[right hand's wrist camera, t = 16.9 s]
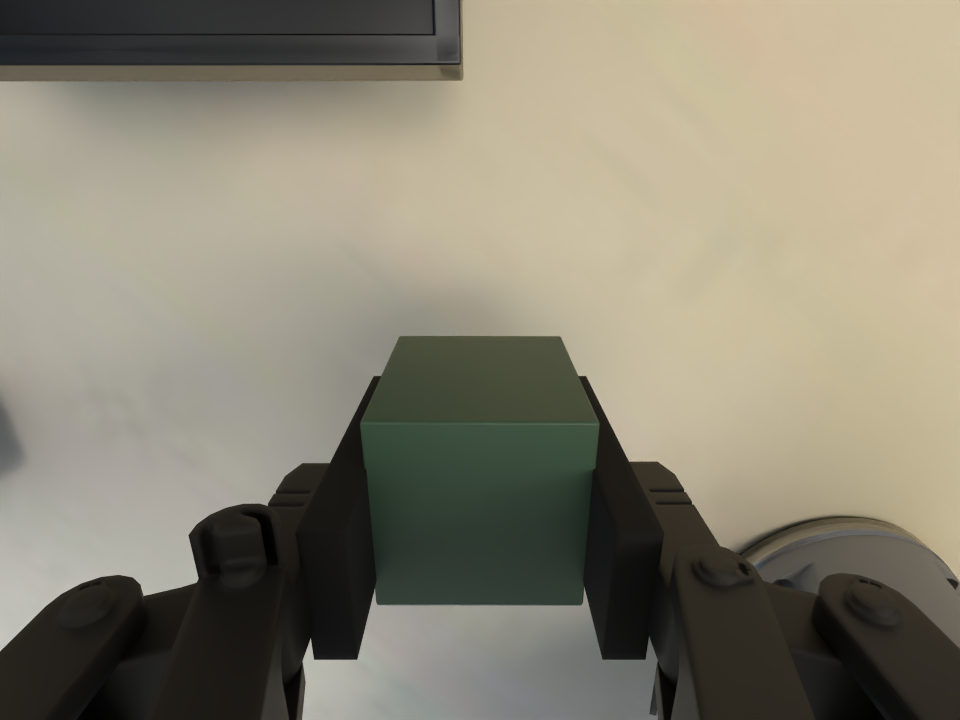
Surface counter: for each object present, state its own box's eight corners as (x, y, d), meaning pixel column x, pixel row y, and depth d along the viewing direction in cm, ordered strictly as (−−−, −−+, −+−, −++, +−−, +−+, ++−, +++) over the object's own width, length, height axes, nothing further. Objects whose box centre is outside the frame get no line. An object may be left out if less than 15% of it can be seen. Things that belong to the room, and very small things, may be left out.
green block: (561, 335, 14) (600, 422, 10) (552, 474, 16) (583, 606, 11) (398, 335, 14) (359, 421, 10) (406, 474, 16) (375, 606, 11)
